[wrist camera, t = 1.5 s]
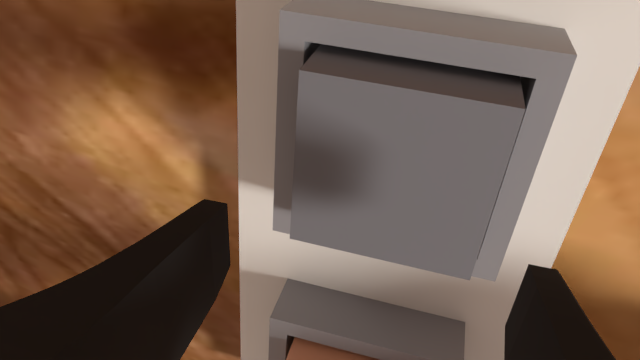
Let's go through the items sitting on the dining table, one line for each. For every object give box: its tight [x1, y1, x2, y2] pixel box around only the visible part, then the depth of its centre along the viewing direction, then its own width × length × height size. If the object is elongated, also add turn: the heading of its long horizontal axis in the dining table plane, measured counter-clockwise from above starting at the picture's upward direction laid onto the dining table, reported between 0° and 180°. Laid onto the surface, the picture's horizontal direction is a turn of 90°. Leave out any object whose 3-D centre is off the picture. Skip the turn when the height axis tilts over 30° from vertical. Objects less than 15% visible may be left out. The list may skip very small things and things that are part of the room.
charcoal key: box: [290, 44, 525, 280], centre depth 16 cm, size 6×6×3 cm
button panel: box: [236, 0, 640, 360], centre depth 22 cm, size 13×24×4 cm, turn 176°
